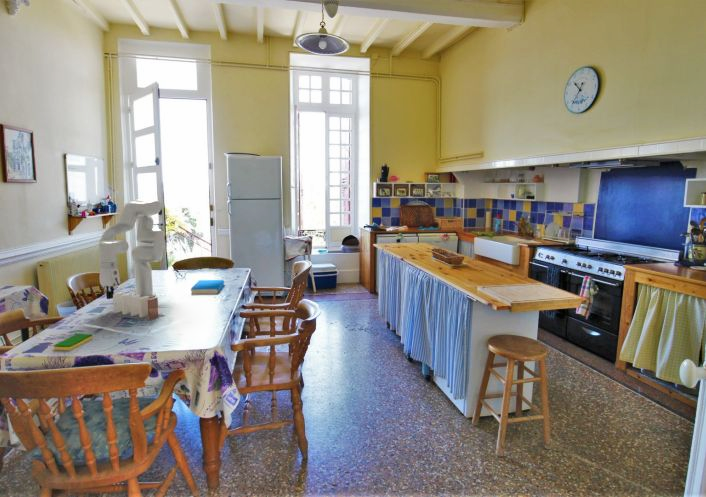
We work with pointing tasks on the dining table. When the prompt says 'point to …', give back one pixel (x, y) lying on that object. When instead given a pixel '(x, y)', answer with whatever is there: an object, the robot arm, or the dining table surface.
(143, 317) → the mat
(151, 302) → the domino
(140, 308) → the domino
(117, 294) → the domino
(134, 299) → the domino
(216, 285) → the book
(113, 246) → the robot arm
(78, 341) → the dish sponge
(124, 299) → the domino
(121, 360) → the dining table surface
